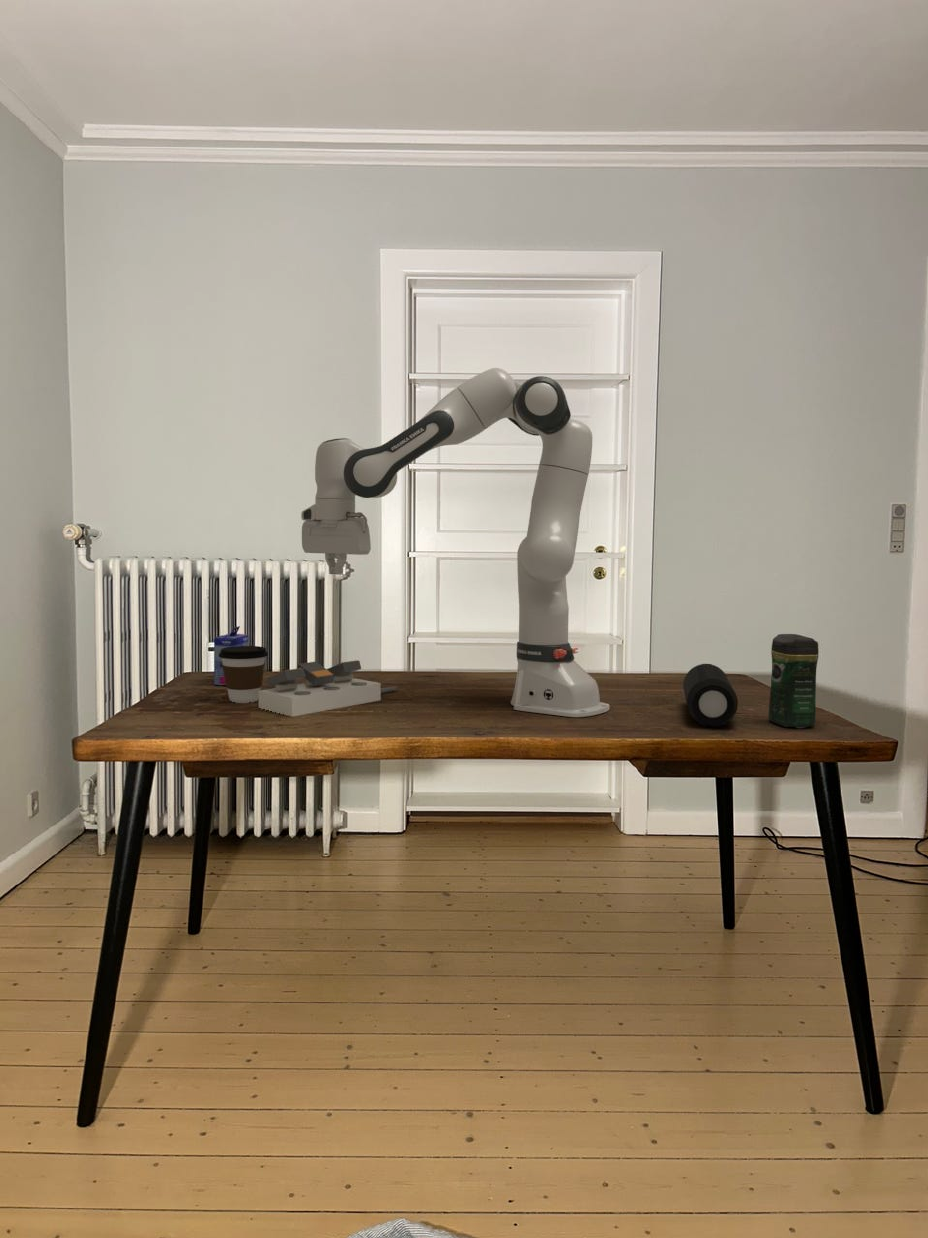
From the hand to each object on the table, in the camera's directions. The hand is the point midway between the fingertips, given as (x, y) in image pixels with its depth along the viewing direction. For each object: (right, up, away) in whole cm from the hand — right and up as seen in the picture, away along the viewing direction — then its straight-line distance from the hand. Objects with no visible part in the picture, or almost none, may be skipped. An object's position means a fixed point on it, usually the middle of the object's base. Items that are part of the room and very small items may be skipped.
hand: (336, 574), depth 198 cm
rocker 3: (+1, -22, +6) cm, 23 cm away
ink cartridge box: (-30, -27, +26) cm, 48 cm away
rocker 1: (-10, -23, -6) cm, 26 cm away
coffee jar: (+96, -32, -17) cm, 103 cm away
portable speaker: (+81, -31, -10) cm, 87 cm away
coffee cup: (-21, -29, +3) cm, 36 cm away
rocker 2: (-5, -22, 0) cm, 23 cm away
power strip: (0, -29, +4) cm, 29 cm away
